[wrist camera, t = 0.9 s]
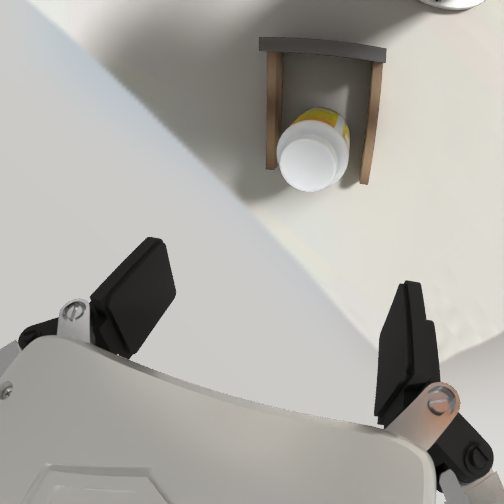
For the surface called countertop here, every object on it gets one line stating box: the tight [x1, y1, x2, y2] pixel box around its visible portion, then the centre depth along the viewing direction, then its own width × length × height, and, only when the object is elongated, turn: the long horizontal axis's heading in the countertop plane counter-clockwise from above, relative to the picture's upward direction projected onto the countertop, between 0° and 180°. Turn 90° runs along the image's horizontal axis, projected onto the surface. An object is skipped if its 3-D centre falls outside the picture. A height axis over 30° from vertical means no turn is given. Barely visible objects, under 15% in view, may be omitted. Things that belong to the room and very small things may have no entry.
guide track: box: [259, 37, 386, 185], centre depth 24 cm, size 13×10×5 cm
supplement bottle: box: [277, 107, 350, 192], centre depth 24 cm, size 6×6×10 cm
